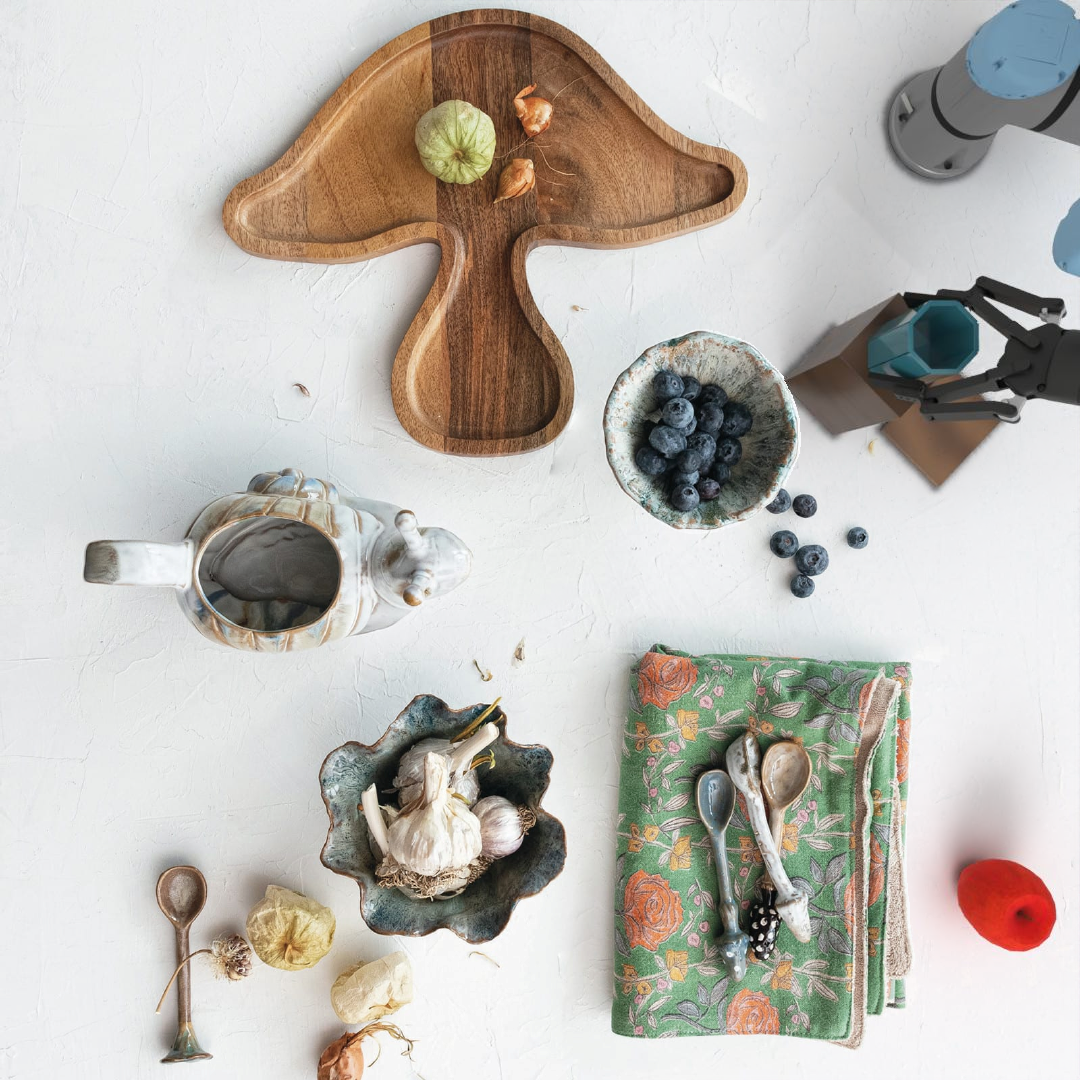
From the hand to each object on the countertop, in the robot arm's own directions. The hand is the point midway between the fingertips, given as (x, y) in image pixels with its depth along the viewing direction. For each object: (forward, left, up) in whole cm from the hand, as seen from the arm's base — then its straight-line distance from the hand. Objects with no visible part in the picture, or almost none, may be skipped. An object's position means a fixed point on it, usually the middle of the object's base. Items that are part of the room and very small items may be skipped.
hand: (889, 339), depth 102 cm
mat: (-8, +19, -23) cm, 31 cm away
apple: (+37, +71, -23) cm, 83 cm away
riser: (-1, +3, -23) cm, 23 cm away
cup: (-1, +3, -3) cm, 4 cm away
